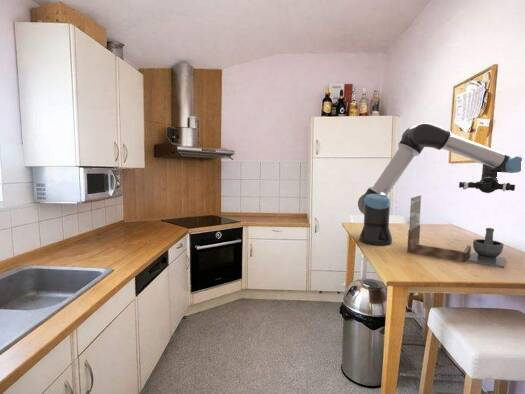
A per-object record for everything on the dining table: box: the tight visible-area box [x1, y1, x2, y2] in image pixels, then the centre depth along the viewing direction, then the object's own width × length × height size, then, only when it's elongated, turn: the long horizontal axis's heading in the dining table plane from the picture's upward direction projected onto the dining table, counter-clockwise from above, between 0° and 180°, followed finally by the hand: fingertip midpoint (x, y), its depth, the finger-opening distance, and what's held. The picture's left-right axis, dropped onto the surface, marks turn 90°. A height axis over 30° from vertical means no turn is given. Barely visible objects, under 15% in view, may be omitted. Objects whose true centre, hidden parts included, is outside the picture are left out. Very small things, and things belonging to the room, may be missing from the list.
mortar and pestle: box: [472, 227, 504, 262], centre depth 118 cm, size 11×9×12 cm
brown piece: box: [407, 195, 472, 263], centre depth 128 cm, size 21×15×24 cm
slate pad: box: [468, 252, 506, 269], centre depth 119 cm, size 11×13×1 cm
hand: (483, 187), depth 128 cm, fingers open, 13 cm apart
